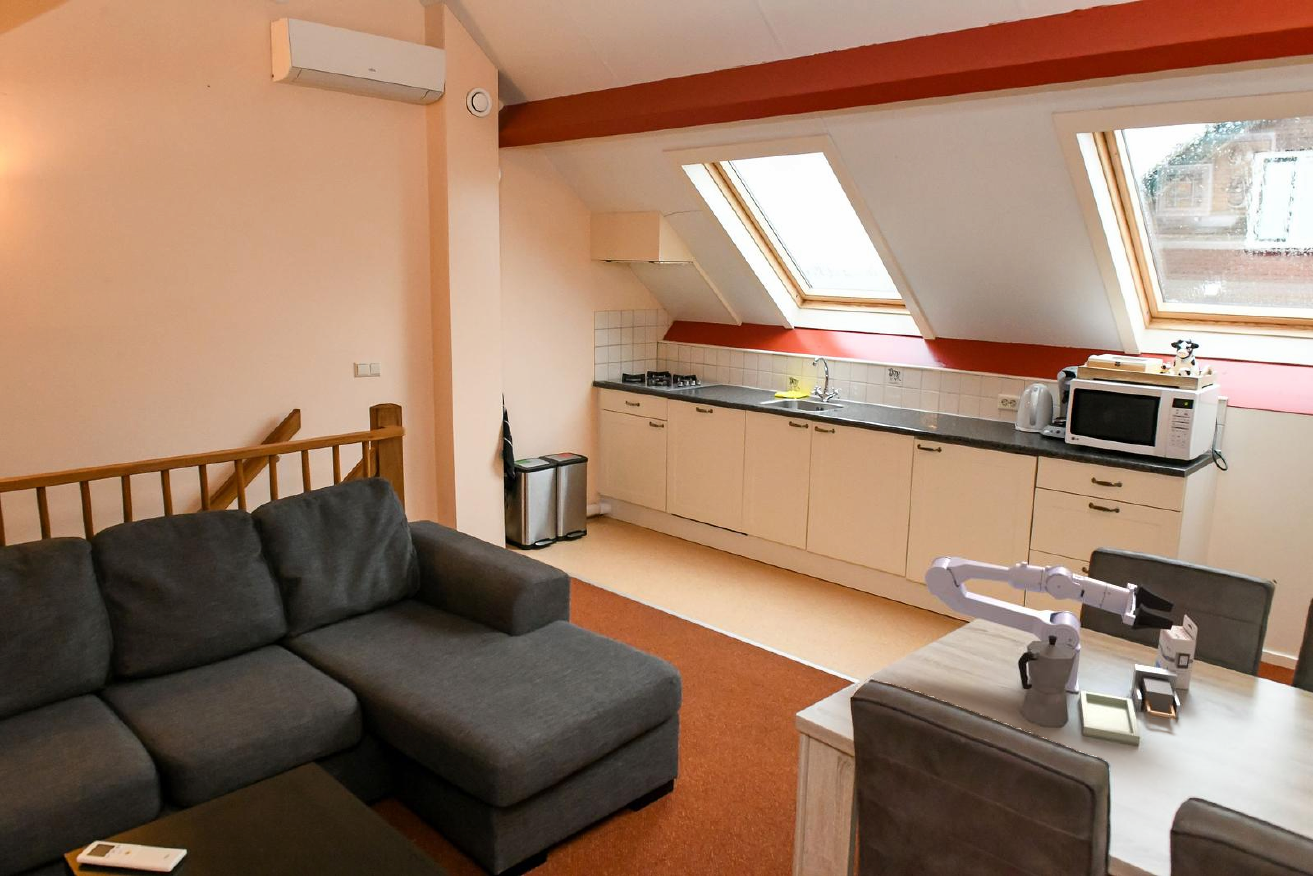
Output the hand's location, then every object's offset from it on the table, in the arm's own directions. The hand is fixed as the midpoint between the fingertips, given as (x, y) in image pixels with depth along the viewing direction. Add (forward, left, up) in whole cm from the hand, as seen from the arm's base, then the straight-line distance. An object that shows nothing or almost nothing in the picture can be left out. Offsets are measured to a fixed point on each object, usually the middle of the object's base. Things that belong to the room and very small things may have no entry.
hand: (1172, 616), depth 197 cm
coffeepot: (-24, -18, -20) cm, 36 cm away
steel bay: (-1, -1, -20) cm, 20 cm away
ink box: (+4, +13, -20) cm, 25 cm away
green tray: (-11, -14, -20) cm, 27 cm away
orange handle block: (-1, -5, -20) cm, 21 cm away
